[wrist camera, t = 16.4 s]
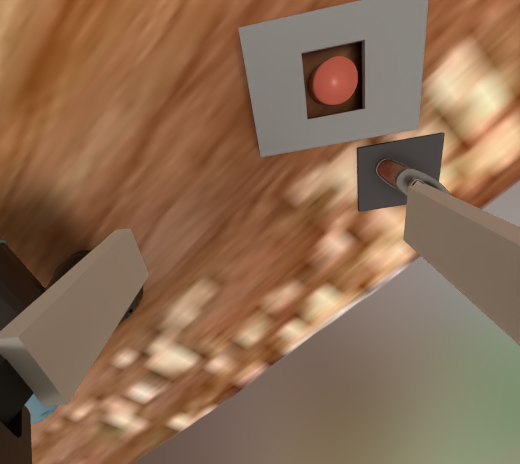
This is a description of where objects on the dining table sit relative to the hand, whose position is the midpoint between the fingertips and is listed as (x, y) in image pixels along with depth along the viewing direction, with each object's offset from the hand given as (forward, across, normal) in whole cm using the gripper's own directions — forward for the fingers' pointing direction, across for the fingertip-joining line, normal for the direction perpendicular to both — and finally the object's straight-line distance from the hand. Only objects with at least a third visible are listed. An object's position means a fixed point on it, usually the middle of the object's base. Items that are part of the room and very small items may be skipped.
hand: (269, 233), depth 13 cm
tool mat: (+29, +20, -7) cm, 36 cm away
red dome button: (+28, +10, +7) cm, 30 cm away
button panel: (+29, +10, +7) cm, 31 cm away
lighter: (+28, +20, -7) cm, 35 cm away
